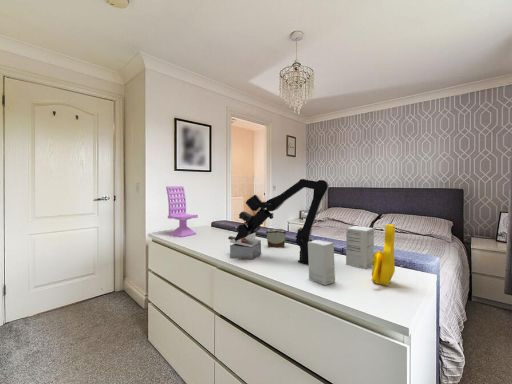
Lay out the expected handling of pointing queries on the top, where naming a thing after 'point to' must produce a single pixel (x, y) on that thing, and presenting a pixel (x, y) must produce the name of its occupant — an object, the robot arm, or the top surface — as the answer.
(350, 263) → the supplement box
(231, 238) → the tabbed silver plate
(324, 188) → the robot arm
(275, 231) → the food container
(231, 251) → the grey open box
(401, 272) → the top surface
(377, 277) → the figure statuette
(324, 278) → the skincare box
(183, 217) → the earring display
